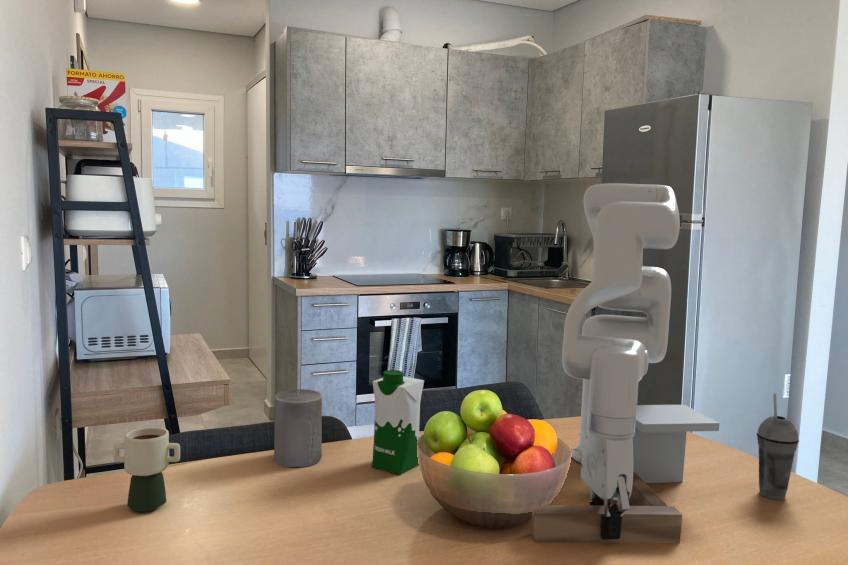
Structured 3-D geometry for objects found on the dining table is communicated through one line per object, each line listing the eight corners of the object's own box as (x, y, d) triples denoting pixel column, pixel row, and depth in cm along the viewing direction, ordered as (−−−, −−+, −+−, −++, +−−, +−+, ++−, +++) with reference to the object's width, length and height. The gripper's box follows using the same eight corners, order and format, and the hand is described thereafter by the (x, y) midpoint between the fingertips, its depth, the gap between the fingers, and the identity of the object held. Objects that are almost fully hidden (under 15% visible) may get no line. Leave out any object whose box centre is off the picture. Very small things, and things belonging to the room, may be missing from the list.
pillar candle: (298, 448, 149) (298, 380, 148) (331, 458, 144) (332, 388, 142) (263, 460, 141) (263, 389, 140) (297, 472, 136) (297, 398, 134)
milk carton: (365, 467, 139) (368, 371, 137) (391, 455, 147) (394, 363, 145) (401, 477, 135) (404, 378, 133) (425, 464, 142) (429, 369, 140)
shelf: (609, 481, 137) (614, 405, 136) (678, 479, 140) (684, 404, 138) (637, 506, 125) (643, 424, 124) (712, 504, 128) (719, 423, 126)
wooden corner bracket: (510, 490, 131) (511, 465, 131) (632, 491, 133) (634, 466, 132) (534, 543, 110) (536, 513, 110) (679, 544, 112) (682, 514, 111)
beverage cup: (798, 505, 129) (808, 401, 127) (757, 500, 130) (766, 397, 128) (786, 489, 136) (795, 391, 134) (747, 485, 137) (755, 388, 135)
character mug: (184, 497, 122) (184, 426, 121) (175, 515, 115) (175, 440, 114) (120, 498, 121) (119, 426, 119) (106, 516, 114) (106, 440, 112)
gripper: (569, 408, 118) (563, 510, 120) (611, 440, 102) (603, 558, 104) (610, 407, 119) (603, 508, 121) (658, 439, 103) (650, 556, 105)
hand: (603, 530), depth 113 cm, fingers open, 4 cm apart
